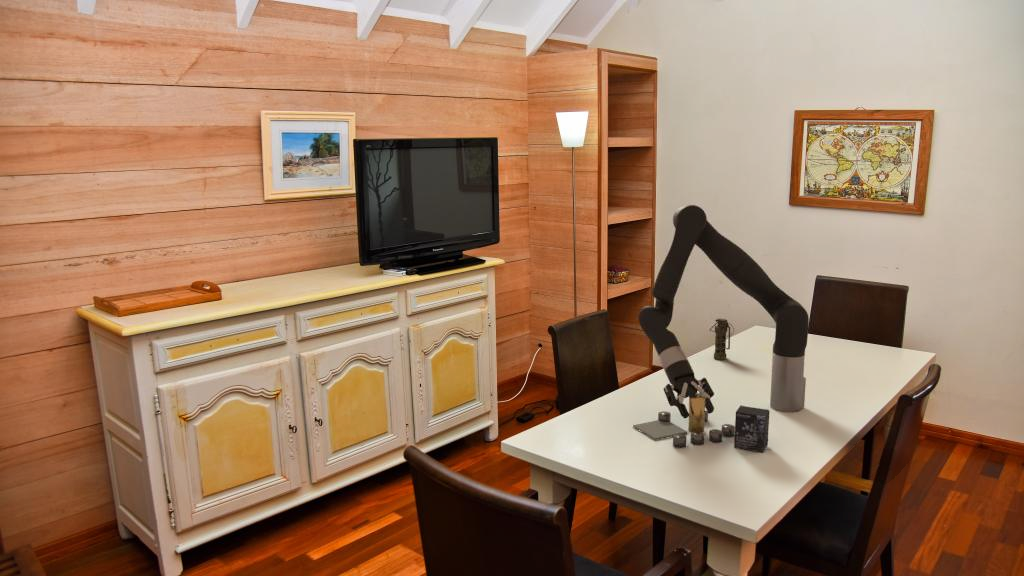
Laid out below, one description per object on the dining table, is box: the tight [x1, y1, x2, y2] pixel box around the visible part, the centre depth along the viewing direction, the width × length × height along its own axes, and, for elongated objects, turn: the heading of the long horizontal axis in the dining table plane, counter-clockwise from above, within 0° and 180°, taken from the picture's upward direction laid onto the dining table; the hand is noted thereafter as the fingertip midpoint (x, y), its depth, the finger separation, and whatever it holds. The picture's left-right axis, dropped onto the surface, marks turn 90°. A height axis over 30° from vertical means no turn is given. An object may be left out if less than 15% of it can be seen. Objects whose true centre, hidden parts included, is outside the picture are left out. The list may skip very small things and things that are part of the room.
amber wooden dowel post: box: [687, 395, 706, 433], centre depth 222 cm, size 4×4×10 cm
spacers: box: [657, 410, 735, 449], centre depth 223 cm, size 21×22×2 cm
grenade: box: [709, 318, 735, 361], centre depth 288 cm, size 9×6×15 cm, turn 50°
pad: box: [632, 419, 688, 441], centre depth 224 cm, size 11×11×1 cm
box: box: [733, 405, 771, 454], centre depth 210 cm, size 8×6×11 cm
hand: (699, 414), depth 221 cm, fingers open, 8 cm apart
